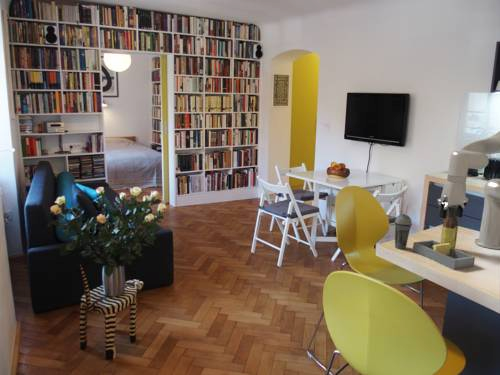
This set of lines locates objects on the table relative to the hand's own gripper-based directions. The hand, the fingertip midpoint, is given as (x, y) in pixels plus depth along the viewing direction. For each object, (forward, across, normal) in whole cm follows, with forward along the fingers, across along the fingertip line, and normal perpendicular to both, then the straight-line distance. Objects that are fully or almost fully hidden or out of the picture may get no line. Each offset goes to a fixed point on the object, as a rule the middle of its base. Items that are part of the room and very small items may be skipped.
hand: (450, 217), depth 183 cm
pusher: (+14, +11, +5) cm, 19 cm away
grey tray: (+15, +11, +8) cm, 21 cm away
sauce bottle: (+15, -1, 0) cm, 15 cm away
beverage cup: (+16, +19, -8) cm, 26 cm away
